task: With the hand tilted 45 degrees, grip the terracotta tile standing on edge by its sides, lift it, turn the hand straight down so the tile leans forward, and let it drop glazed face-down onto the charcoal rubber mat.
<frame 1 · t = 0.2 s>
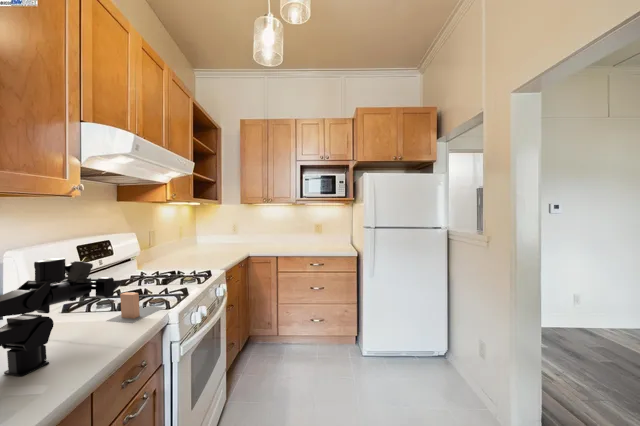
hand: (111, 281, 102), 17 cm above the countertop, tool horizontal, fingers open, 9 cm apart
mat: (137, 314, 114), on the countertop
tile: (130, 316, 111), resting on mat
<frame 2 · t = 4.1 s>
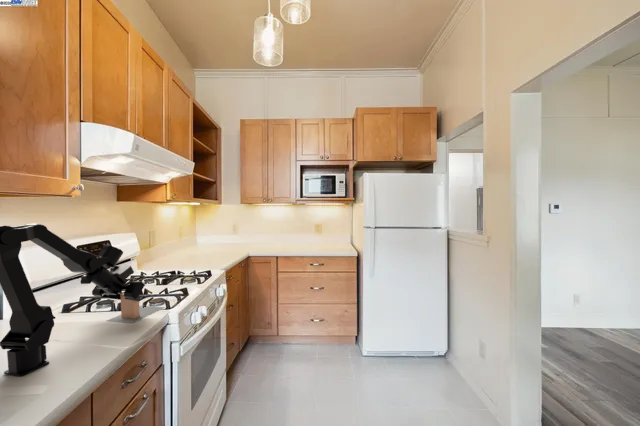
hand: (132, 299, 112), 7 cm above the countertop, tool tilted 45°, fingers closed on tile, 6 cm apart
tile: (130, 316, 111), resting on mat, touching gripper
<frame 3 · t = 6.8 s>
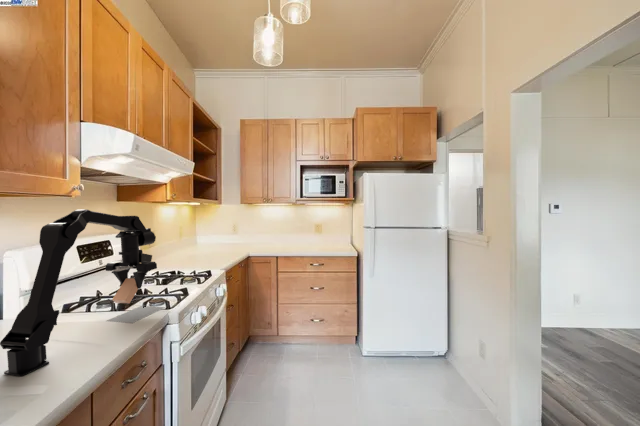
hand: (132, 288, 112), 11 cm above the countertop, tool pointing down, fingers closed on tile, 6 cm apart
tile: (120, 301, 107), point 8 cm above the countertop, tilted 45°, touching gripper
when the fingers open (6 cm above the countertop, at t = 9.1 s): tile drops 1 cm and tips over, resting on mat.
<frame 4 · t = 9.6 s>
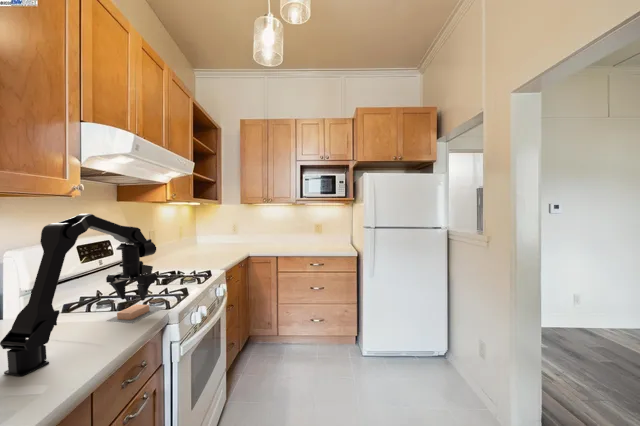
hand: (133, 299, 113), 6 cm above the countertop, tool pointing down, fingers open, 9 cm apart
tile: (124, 316, 109), point 2 cm above the countertop, tilted 90°, touching mat
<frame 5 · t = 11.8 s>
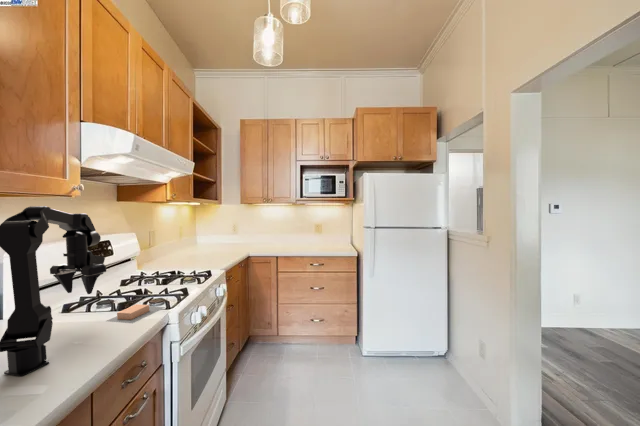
hand: (79, 293, 102), 13 cm above the countertop, tool pointing down, fingers open, 9 cm apart
nothing on the countertop moved.
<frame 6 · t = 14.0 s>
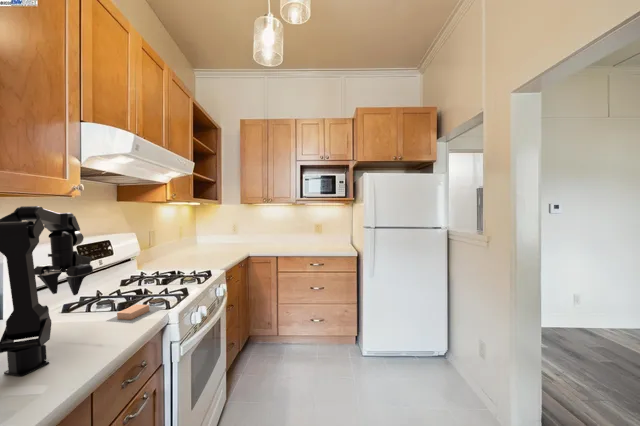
hand: (65, 294, 100), 13 cm above the countertop, tool pointing down, fingers open, 9 cm apart
nothing on the countertop moved.
at the end: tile tilted 90°; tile touching mat; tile inside the target area (2.6 cm from its centre), point 1.6 cm above the countertop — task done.
